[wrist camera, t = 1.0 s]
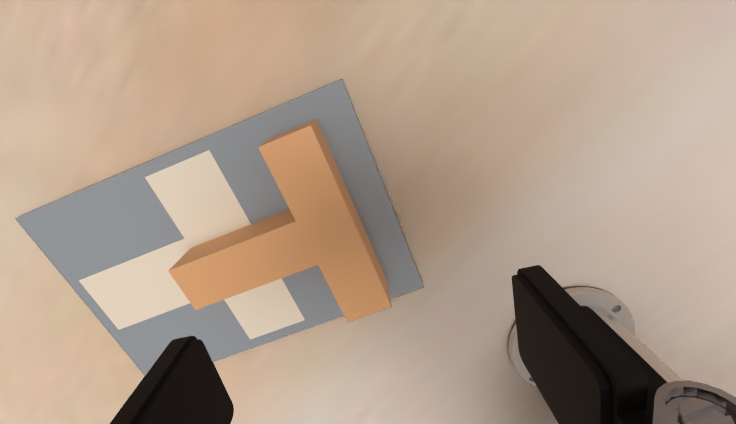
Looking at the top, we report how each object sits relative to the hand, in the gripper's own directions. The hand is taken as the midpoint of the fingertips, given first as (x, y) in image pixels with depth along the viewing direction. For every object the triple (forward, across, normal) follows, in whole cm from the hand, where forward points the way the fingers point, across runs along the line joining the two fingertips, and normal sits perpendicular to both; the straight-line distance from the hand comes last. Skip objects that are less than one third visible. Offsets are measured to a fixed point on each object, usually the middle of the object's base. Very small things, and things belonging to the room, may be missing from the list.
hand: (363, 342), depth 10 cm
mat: (+21, +13, +4) cm, 25 cm away
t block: (+20, +9, +4) cm, 22 cm away
